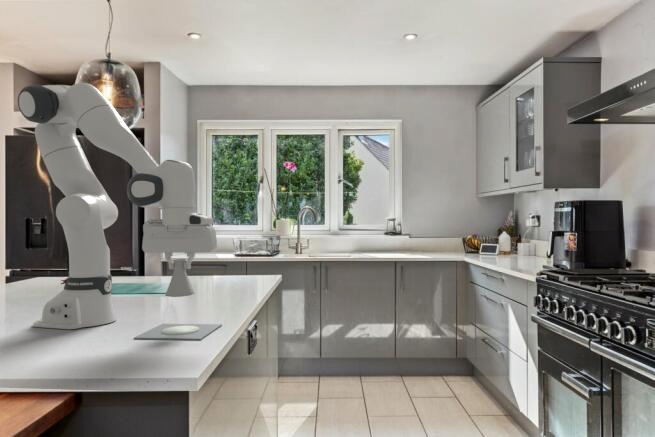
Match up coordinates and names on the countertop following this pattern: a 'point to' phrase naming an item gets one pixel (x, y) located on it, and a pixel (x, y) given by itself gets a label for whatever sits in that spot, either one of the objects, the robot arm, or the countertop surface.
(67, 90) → the robot arm
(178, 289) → the flask
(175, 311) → the countertop surface
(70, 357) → the countertop surface
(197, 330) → the card
